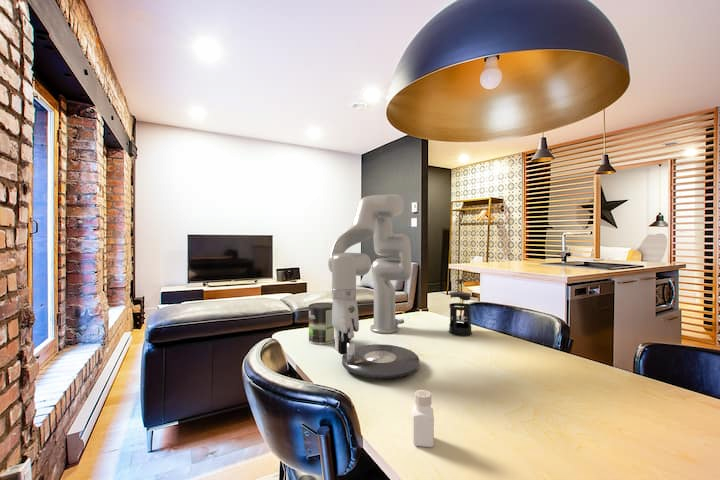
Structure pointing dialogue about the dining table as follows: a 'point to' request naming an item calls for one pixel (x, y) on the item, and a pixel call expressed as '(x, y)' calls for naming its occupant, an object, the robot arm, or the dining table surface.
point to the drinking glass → (337, 340)
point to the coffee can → (320, 323)
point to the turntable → (379, 360)
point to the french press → (455, 327)
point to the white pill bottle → (423, 420)
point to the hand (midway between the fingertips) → (344, 352)
